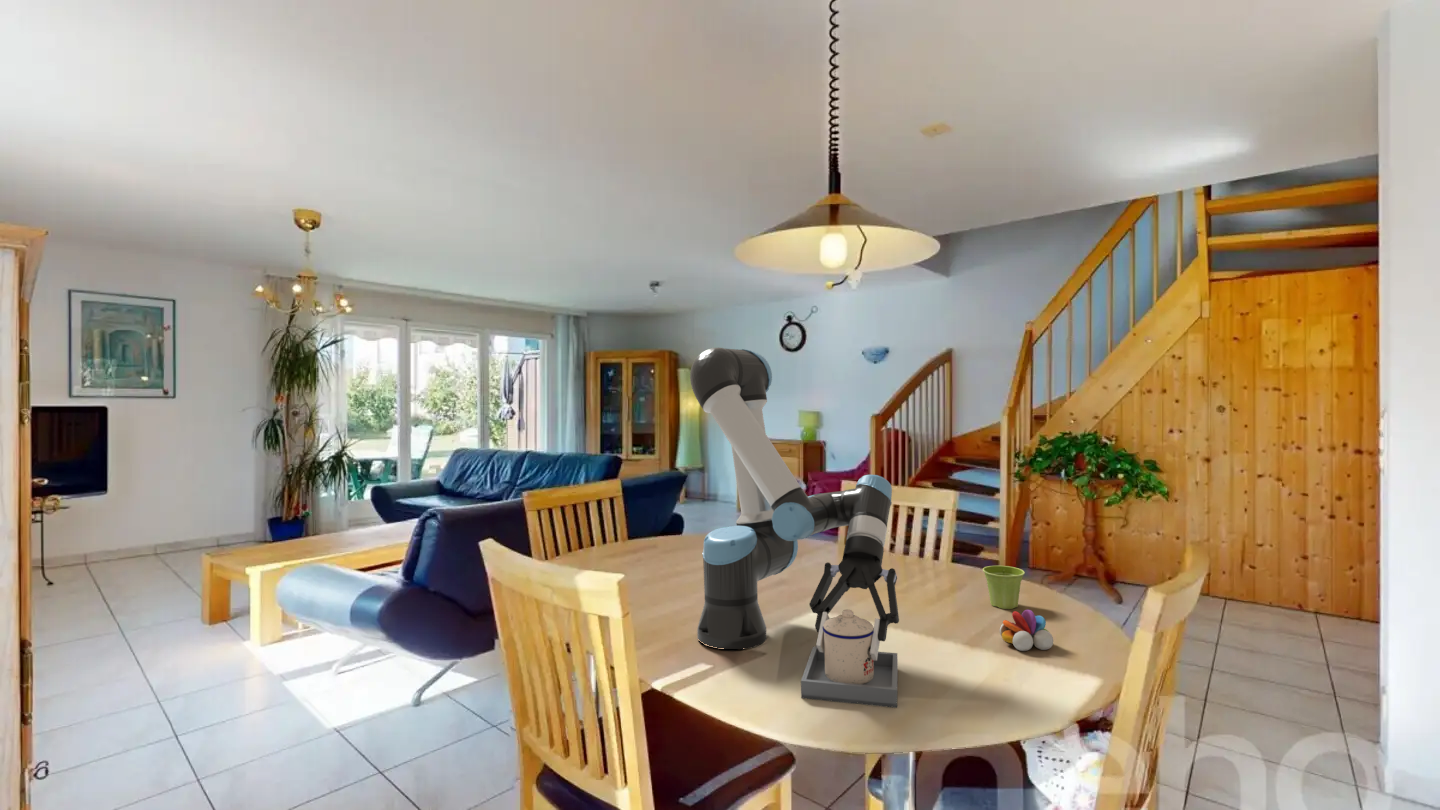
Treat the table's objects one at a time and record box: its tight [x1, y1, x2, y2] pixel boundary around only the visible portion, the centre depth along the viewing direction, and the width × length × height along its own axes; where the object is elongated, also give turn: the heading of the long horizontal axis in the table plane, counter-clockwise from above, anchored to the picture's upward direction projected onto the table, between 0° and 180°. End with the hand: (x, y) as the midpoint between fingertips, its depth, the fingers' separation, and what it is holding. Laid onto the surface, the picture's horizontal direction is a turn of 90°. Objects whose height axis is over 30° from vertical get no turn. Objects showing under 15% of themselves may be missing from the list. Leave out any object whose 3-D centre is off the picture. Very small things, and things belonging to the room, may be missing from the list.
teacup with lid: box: [823, 609, 874, 684], centre depth 116 cm, size 12×9×12 cm
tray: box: [800, 645, 899, 709], centre depth 116 cm, size 16×16×3 cm
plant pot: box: [982, 565, 1026, 610], centre depth 157 cm, size 9×9×9 cm
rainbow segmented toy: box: [999, 609, 1054, 652], centre depth 132 cm, size 8×10×7 cm
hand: (846, 652), depth 113 cm, fingers closed on teacup with lid, 9 cm apart
